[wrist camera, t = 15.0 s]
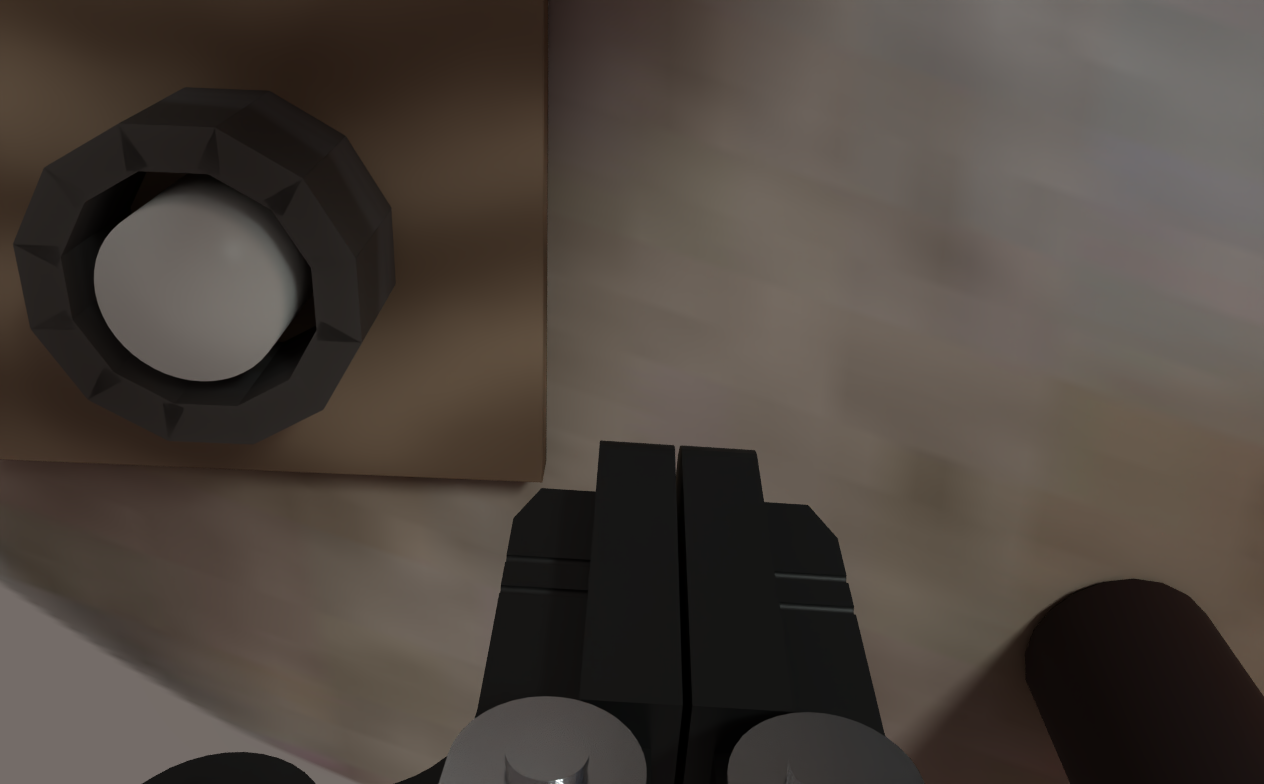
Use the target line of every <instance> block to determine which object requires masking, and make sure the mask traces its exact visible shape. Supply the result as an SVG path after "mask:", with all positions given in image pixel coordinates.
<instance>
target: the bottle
mask: <svg viewBox="0 0 1264 784" xmlns="http://www.w3.org/2000/svg"><path fill="white" fill-rule="evenodd" d="M1025 664H1026V681H1027V684H1028V686H1029V688H1030V691H1031V693H1032V695H1033V698H1034V700H1035V702H1036V705H1037V707H1038V709H1039V712H1040V714H1041V716H1042V719H1043V721H1044V723H1045V726H1046V728H1047V730H1048V733H1049V735H1050V737H1051V740H1052V742H1053V744H1054V747H1055V749H1056V751H1057V754H1058V756H1059V758H1060V761H1061V763H1062V765H1063V768H1064V770H1065V772H1066V775H1067V777H1068V779H1069V782H1070V784H1264V696H1263V695H1262V693H1261V692H1260V691H1259V689H1258V688H1257V686H1256V685H1255V683H1254V682H1253V680H1252V679H1251V678H1250V676H1249V675H1248V673H1247V672H1246V670H1245V669H1244V668H1243V666H1242V665H1241V663H1240V662H1239V660H1238V659H1237V657H1236V656H1235V655H1234V653H1233V652H1232V650H1231V649H1230V647H1229V646H1228V645H1227V643H1226V642H1225V640H1224V639H1223V637H1222V636H1221V634H1220V633H1219V632H1218V630H1217V629H1216V627H1215V626H1214V624H1213V623H1212V621H1211V620H1210V619H1209V617H1208V616H1207V614H1206V613H1205V612H1204V611H1203V610H1202V609H1201V608H1200V607H1199V606H1198V605H1197V604H1196V603H1195V602H1194V601H1193V600H1192V599H1191V598H1190V597H1189V596H1188V595H1186V594H1184V593H1182V592H1180V591H1178V590H1176V589H1174V588H1172V587H1170V586H1168V585H1165V584H1163V583H1159V582H1153V581H1146V580H1139V579H1127V580H1118V581H1110V582H1103V583H1100V584H1097V585H1095V586H1092V587H1089V588H1087V589H1084V590H1081V591H1079V592H1076V593H1074V594H1073V595H1071V596H1070V597H1068V598H1067V599H1065V600H1064V601H1063V602H1061V603H1060V604H1058V605H1057V606H1055V607H1054V608H1052V609H1051V610H1050V611H1049V613H1048V614H1047V615H1046V616H1045V617H1044V619H1043V620H1042V621H1041V622H1040V623H1039V625H1038V626H1037V627H1036V628H1035V630H1034V631H1033V634H1032V637H1031V639H1030V642H1029V644H1028V647H1027V650H1026V652H1025Z"/></svg>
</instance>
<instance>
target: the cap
mask: <svg viewBox="0 0 1264 784" xmlns="http://www.w3.org/2000/svg"><path fill="white" fill-rule="evenodd" d="M94 287H95V294H96V298H97V302H98V305H99V308H100V311H101V313H102V316H103V317H104V319H105V321H106V323H107V325H108V327H109V328H110V330H111V331H112V332H113V334H114V335H115V337H116V338H117V339H118V340H119V341H120V342H121V343H122V345H123V346H124V347H125V348H126V349H128V350H129V351H130V352H131V353H132V354H133V355H134V356H136V357H137V358H138V359H140V360H141V361H142V362H144V363H146V364H147V365H149V366H151V367H152V368H154V369H156V370H159V371H161V372H163V373H165V374H168V375H171V376H174V377H177V378H182V379H186V380H193V381H217V380H224V379H227V378H231V377H234V376H237V375H239V374H241V373H244V372H246V371H247V370H249V369H251V368H252V367H254V366H255V365H256V364H257V363H258V362H260V361H261V360H262V359H263V358H264V357H265V355H266V354H267V353H268V352H269V351H270V349H271V348H272V347H273V345H274V344H275V343H276V341H277V340H278V339H279V337H280V336H281V335H282V333H283V332H284V331H285V329H286V328H287V327H288V326H289V324H290V323H291V322H292V320H293V319H294V318H295V316H296V315H297V314H298V312H299V311H300V310H301V308H302V307H303V306H304V304H305V303H306V302H307V300H308V299H309V298H310V296H311V295H312V294H313V284H312V273H311V267H310V266H309V264H308V263H307V261H306V260H305V258H304V257H303V256H302V254H301V253H300V251H299V250H298V248H297V247H296V245H295V244H294V242H293V241H292V239H291V238H290V236H289V235H288V234H287V232H286V231H285V229H284V228H283V226H282V225H281V223H280V222H279V220H278V219H277V217H276V216H275V214H274V213H273V212H272V210H270V209H268V208H267V207H265V206H263V205H261V204H260V203H258V202H256V201H254V200H253V199H251V198H249V197H247V196H246V195H244V194H242V193H240V192H239V191H237V190H235V189H233V188H232V187H230V186H228V185H226V184H224V183H223V182H221V181H219V180H217V179H216V178H214V177H212V176H210V175H209V174H193V173H187V174H186V175H184V176H183V177H182V178H180V179H179V180H178V181H176V182H175V183H174V184H172V185H171V186H169V187H168V188H167V189H165V190H164V191H163V192H161V193H160V194H159V195H157V196H156V197H154V198H153V199H152V200H150V201H149V202H148V203H146V204H145V205H144V206H142V207H141V208H139V209H138V210H137V211H135V212H134V213H133V214H131V215H130V216H128V217H127V218H126V219H124V220H123V221H122V222H120V223H119V224H118V225H117V226H116V227H115V228H114V229H113V230H112V231H111V232H110V233H109V235H108V236H107V237H106V238H105V240H104V242H103V244H102V246H101V247H100V250H99V252H98V255H97V258H96V263H95V269H94Z"/></svg>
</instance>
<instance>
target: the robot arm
mask: <svg viewBox="0 0 1264 784" xmlns="http://www.w3.org/2000/svg"><path fill="white" fill-rule="evenodd" d="M143 784H315V782H314V781H313V780H312V779H311V778H310V777H309V776H308V775H307V774H306V773H305V772H303V771H302V770H300V769H299V768H297V767H296V766H294V765H293V764H291V763H288V762H286V761H284V760H282V759H279V758H276V757H272V756H268V755H264V754H258V753H248V752H235V753H233V752H232V753H221V754H214V755H208V756H204V757H200V758H196V759H193V760H189V761H186V762H184V763H181V764H179V765H177V766H174V767H171V768H169V769H168V770H165V771H164V772H162V773H160V774H158V775H156V776H154V777H153V778H151V779H149V780H148V781H146V782H144V783H143ZM395 784H925V783H924V781H923V779H922V777H921V775H920V773H919V771H918V769H917V768H916V766H915V765H914V764H913V762H912V761H911V759H910V758H909V757H908V756H907V755H906V754H905V753H904V752H903V751H902V750H901V749H900V748H899V747H898V746H897V745H896V744H894V743H893V742H892V741H891V740H889V739H888V738H887V737H886V736H885V733H884V730H883V726H882V721H881V717H880V713H879V709H878V705H877V701H876V696H875V692H874V688H873V684H872V680H871V676H870V671H869V667H868V663H867V659H866V655H865V651H864V646H863V642H862V638H861V634H860V630H859V626H858V622H857V617H856V615H854V605H853V601H852V597H851V592H850V588H849V584H848V583H846V572H845V567H844V563H843V559H842V555H841V551H840V547H839V542H838V538H837V537H836V536H835V535H834V534H833V533H832V532H831V530H830V529H829V528H828V527H827V526H826V525H825V524H824V523H823V521H822V520H821V519H820V518H819V517H818V516H817V515H816V514H815V512H814V511H813V510H812V509H811V508H810V507H809V506H808V505H800V504H785V503H769V502H764V499H763V492H762V485H761V479H760V472H759V466H758V459H757V454H756V451H755V450H743V449H727V448H712V447H696V446H680V449H679V454H678V461H677V470H676V469H675V447H674V445H661V444H646V443H630V442H615V441H600V448H599V460H598V472H597V485H596V492H592V491H577V490H561V489H546V488H541V489H540V490H539V492H538V493H537V494H536V495H535V496H534V497H533V498H532V499H531V500H530V501H529V502H528V503H527V504H526V505H525V506H524V508H523V509H522V510H521V511H520V512H519V513H518V514H517V515H516V516H515V517H514V519H513V524H512V529H511V535H510V540H509V545H508V550H507V559H506V562H505V566H504V572H503V577H502V582H501V592H500V593H499V598H498V604H497V609H496V614H495V619H494V625H493V630H492V635H491V641H490V646H489V651H488V657H487V662H486V667H485V673H484V678H483V683H482V688H481V694H480V699H479V704H478V709H477V713H476V716H475V719H474V720H472V721H471V722H470V723H469V724H468V725H467V726H466V727H465V728H464V729H463V730H462V731H461V732H460V734H459V735H458V736H457V738H456V739H455V741H454V742H453V744H452V746H451V748H450V751H449V753H448V755H447V757H445V758H444V759H442V760H441V761H440V762H438V763H437V764H435V765H434V766H433V767H431V768H429V769H427V770H425V771H423V772H422V773H420V774H418V775H416V776H414V777H411V778H408V779H406V780H403V781H401V782H398V783H395Z"/></svg>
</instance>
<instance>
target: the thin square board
mask: <svg viewBox="0 0 1264 784" xmlns="http://www.w3.org/2000/svg"><path fill="white" fill-rule="evenodd" d="M187 173H193V174H209V175H210V176H212V177H214V178H216V179H217V180H219V181H221V182H223V183H224V184H226V185H228V186H230V187H232V188H233V189H235V190H237V191H239V192H240V193H242V194H244V195H246V196H247V197H249V198H251V199H253V200H254V201H256V202H258V203H260V204H261V205H263V206H265V207H267V208H268V209H270V210H272V212H273V213H274V214H275V216H276V217H277V219H278V220H279V222H280V223H281V225H282V226H283V228H284V229H285V231H286V232H287V234H288V235H289V236H290V238H291V239H292V241H293V242H294V244H295V245H296V247H297V248H298V250H299V251H300V253H301V254H302V256H303V257H304V258H305V260H306V261H307V263H308V264H309V266H310V267H311V273H312V284H313V294H312V295H311V296H310V298H309V299H308V300H307V302H306V303H305V304H304V306H303V307H302V308H301V310H300V311H299V312H298V314H297V315H296V316H295V318H294V319H293V320H292V322H291V323H290V324H289V326H288V327H287V328H286V329H285V331H284V332H283V333H282V335H281V336H280V337H279V339H278V340H277V341H276V343H275V344H274V345H273V347H272V348H271V349H270V351H269V352H268V353H267V354H266V355H265V357H264V358H263V359H262V360H261V361H260V362H258V363H257V364H256V365H255V366H254V367H252V368H251V369H249V370H247V371H246V372H244V373H241V374H239V375H237V376H234V377H231V378H227V379H224V380H217V381H193V380H186V379H182V378H177V377H174V376H171V375H168V374H165V373H163V372H161V371H159V370H156V369H154V368H152V367H151V366H149V365H147V364H146V363H144V362H142V361H141V360H140V359H138V358H137V357H136V356H134V355H133V354H132V353H131V352H130V351H129V350H128V349H126V348H125V347H124V346H123V345H122V343H121V342H120V341H119V340H118V339H117V338H116V337H115V335H114V334H113V332H112V331H111V330H110V328H109V327H108V325H107V323H106V321H105V319H104V317H103V316H102V313H101V311H100V308H99V305H98V302H97V298H96V294H95V287H94V269H95V263H96V258H97V255H98V252H99V250H100V247H101V246H102V244H103V242H104V240H105V238H106V237H107V236H108V235H109V233H110V232H111V231H112V230H113V229H114V228H115V227H116V226H117V225H118V224H119V223H120V222H122V221H123V220H124V219H126V218H127V217H128V216H130V215H131V214H133V213H134V212H135V211H137V210H138V209H139V208H141V207H142V206H144V205H145V204H146V203H148V202H149V201H150V200H152V199H153V198H154V197H156V196H157V195H159V194H160V193H161V192H163V191H164V190H165V189H167V188H168V187H169V186H171V185H172V184H174V183H175V182H176V181H178V180H179V179H180V178H182V177H183V176H184V175H186V174H187ZM547 188H548V0H0V459H3V460H26V461H50V462H73V463H97V464H120V465H144V466H168V467H191V468H215V469H238V470H262V471H286V472H309V473H333V474H356V475H380V476H403V477H427V478H451V479H474V480H498V481H521V482H542V481H543V475H544V470H545V464H546V398H547Z"/></svg>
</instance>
